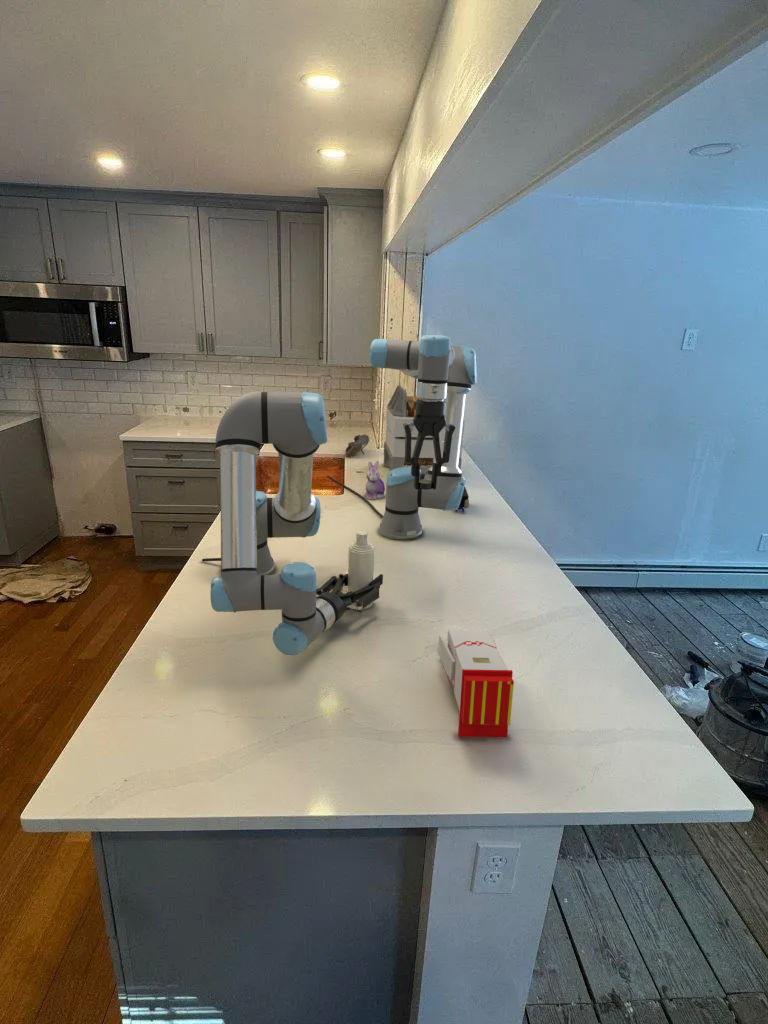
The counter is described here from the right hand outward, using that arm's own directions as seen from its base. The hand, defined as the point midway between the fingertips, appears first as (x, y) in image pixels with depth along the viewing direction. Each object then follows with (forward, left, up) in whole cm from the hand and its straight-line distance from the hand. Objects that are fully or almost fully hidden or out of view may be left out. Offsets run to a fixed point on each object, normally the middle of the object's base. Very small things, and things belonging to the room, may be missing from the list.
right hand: (424, 487), depth 151 cm
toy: (+40, -23, -30) cm, 55 cm away
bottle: (-3, -18, -30) cm, 36 cm away
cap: (0, 0, +1) cm, 1 cm away
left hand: (-5, -14, -24) cm, 28 cm away
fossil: (-133, +82, -30) cm, 159 cm away
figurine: (-71, +43, -30) cm, 88 cm away
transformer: (-87, +85, -30) cm, 125 cm away
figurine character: (-41, +62, -30) cm, 80 cm away
